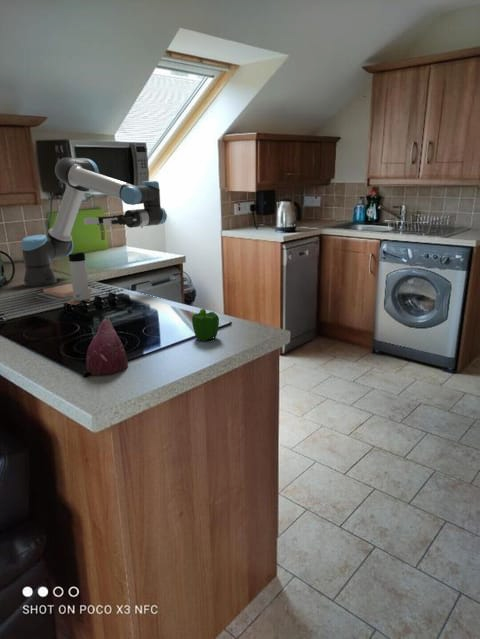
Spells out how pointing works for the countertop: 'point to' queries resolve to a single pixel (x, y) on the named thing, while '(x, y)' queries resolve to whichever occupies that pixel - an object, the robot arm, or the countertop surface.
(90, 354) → the vegetable
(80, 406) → the countertop surface
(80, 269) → the travel mug
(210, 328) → the bell pepper
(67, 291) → the tile
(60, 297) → the mat
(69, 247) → the robot arm
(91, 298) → the coaster
